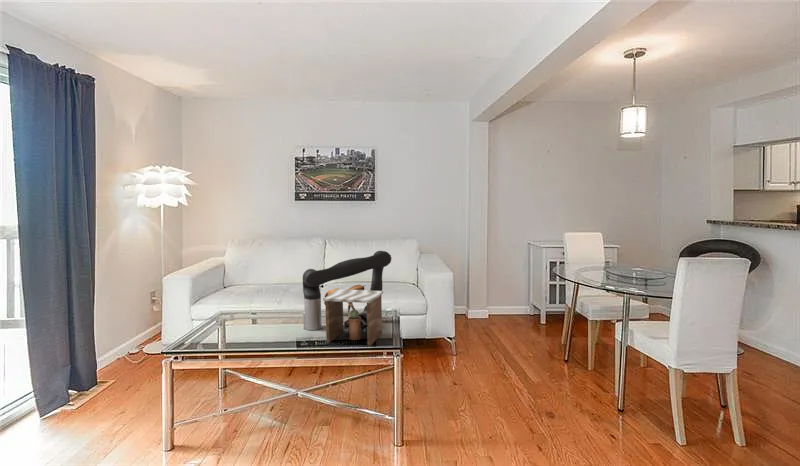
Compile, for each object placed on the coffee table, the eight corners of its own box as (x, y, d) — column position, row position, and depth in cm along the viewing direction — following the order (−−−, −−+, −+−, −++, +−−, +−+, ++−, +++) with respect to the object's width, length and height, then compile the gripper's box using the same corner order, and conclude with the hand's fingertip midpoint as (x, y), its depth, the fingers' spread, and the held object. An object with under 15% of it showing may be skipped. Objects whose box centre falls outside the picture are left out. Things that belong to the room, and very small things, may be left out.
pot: (346, 339, 248) (346, 311, 247) (351, 335, 255) (350, 307, 253) (358, 340, 247) (358, 311, 245) (363, 336, 253) (362, 308, 251)
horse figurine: (367, 318, 288) (366, 284, 286) (359, 321, 281) (359, 287, 279) (326, 312, 303) (325, 280, 301) (318, 315, 296) (317, 282, 294)
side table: (324, 343, 243) (323, 298, 241) (340, 330, 264) (339, 289, 262) (371, 346, 237) (370, 300, 235) (383, 333, 258) (383, 291, 256)
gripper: (351, 312, 265) (340, 320, 250) (375, 313, 262) (366, 321, 246) (351, 325, 266) (340, 334, 250) (376, 326, 262) (366, 335, 247)
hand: (353, 327), depth 248 cm, fingers open, 8 cm apart
